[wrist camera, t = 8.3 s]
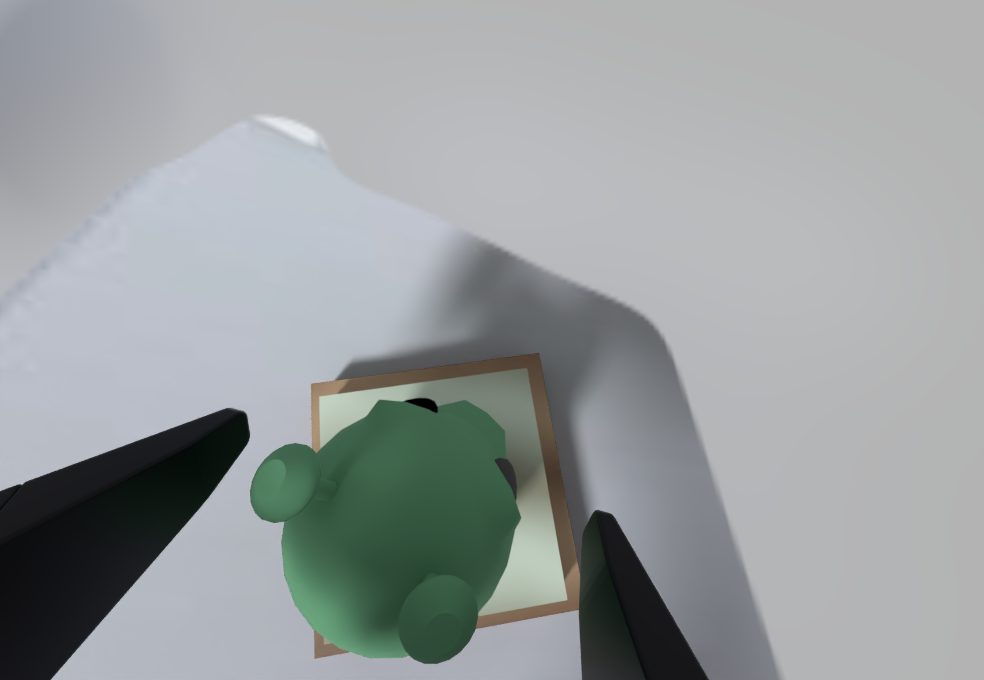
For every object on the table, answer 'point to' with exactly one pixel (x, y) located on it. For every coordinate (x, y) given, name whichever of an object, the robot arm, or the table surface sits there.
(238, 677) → the table surface
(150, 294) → the table surface
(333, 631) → the alien toy
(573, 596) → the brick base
